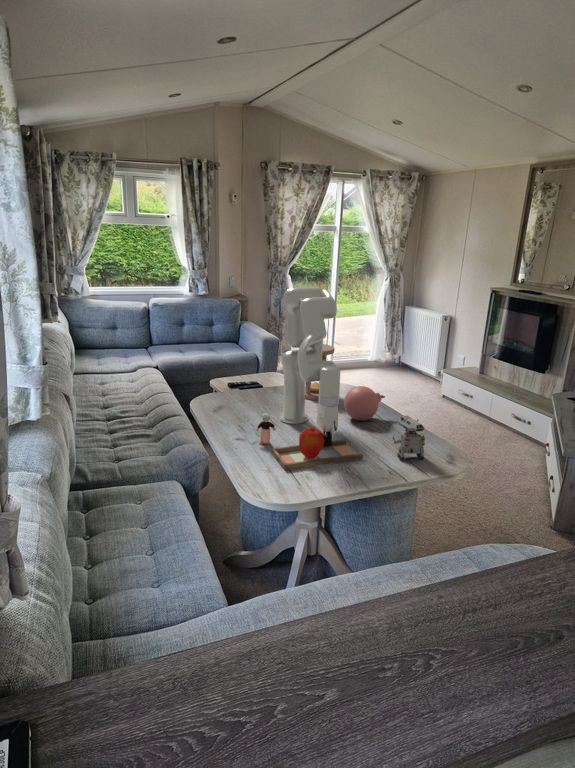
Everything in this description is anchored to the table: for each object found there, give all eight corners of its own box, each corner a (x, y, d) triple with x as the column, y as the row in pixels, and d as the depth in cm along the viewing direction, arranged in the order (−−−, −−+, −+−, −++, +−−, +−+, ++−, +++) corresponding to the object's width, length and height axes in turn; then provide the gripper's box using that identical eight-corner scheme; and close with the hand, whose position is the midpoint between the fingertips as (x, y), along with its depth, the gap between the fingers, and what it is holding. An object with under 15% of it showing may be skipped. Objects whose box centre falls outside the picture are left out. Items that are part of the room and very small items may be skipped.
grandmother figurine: (257, 445, 209) (257, 415, 205) (255, 442, 212) (255, 412, 209) (276, 444, 211) (276, 414, 207) (274, 440, 214) (274, 410, 211)
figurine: (413, 449, 208) (416, 413, 204) (425, 461, 198) (429, 424, 193) (391, 450, 207) (394, 414, 203) (402, 463, 196) (405, 425, 192)
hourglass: (316, 387, 284) (317, 342, 277) (339, 395, 272) (341, 348, 264) (291, 393, 273) (292, 346, 266) (314, 402, 261) (316, 353, 253)
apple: (292, 457, 197) (297, 427, 193) (302, 449, 205) (307, 420, 201) (315, 464, 193) (320, 434, 190) (324, 456, 201) (329, 427, 198)
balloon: (392, 422, 237) (395, 389, 232) (352, 427, 230) (354, 393, 225) (375, 411, 250) (377, 379, 246) (337, 415, 244) (339, 383, 239)
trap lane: (271, 453, 202) (271, 448, 201) (345, 444, 212) (345, 439, 211) (284, 470, 188) (284, 465, 188) (362, 459, 199) (363, 454, 198)
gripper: (312, 394, 201) (310, 439, 206) (327, 406, 187) (325, 454, 192) (330, 392, 203) (328, 437, 208) (346, 405, 189) (344, 452, 195)
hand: (326, 445), depth 200 cm, fingers closed
